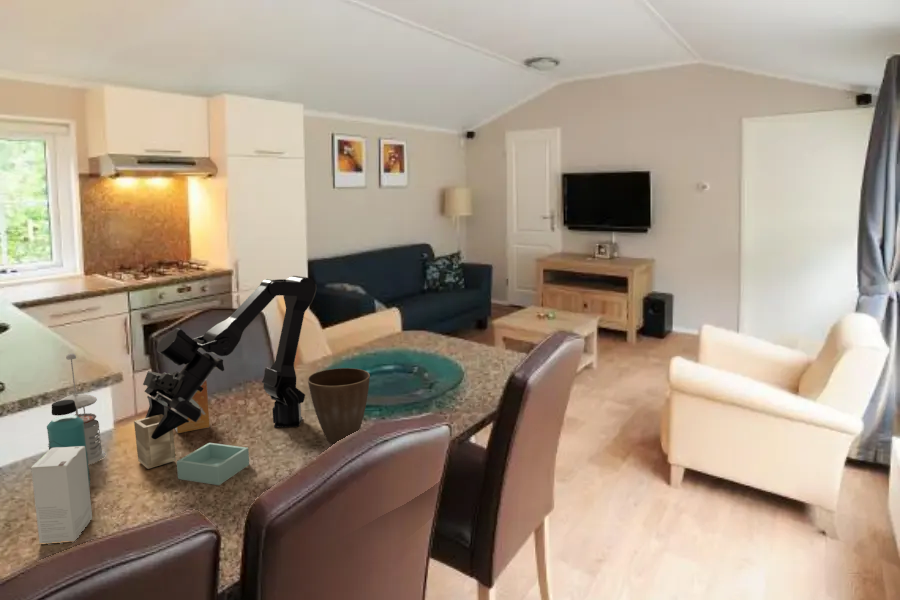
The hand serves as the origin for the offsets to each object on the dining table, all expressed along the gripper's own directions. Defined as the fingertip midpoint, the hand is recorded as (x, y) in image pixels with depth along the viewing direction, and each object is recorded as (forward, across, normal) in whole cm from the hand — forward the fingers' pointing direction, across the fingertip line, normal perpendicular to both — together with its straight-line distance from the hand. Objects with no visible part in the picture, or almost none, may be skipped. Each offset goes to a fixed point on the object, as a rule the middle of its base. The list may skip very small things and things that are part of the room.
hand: (147, 434), depth 136 cm
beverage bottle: (+17, +4, -6) cm, 18 cm away
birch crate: (+4, 0, +6) cm, 7 cm away
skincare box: (+20, +19, -10) cm, 29 cm away
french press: (+12, -16, -2) cm, 20 cm away
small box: (-6, -16, +17) cm, 24 cm away
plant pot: (-22, +19, +32) cm, 44 cm away
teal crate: (-1, +14, +11) cm, 18 cm away
